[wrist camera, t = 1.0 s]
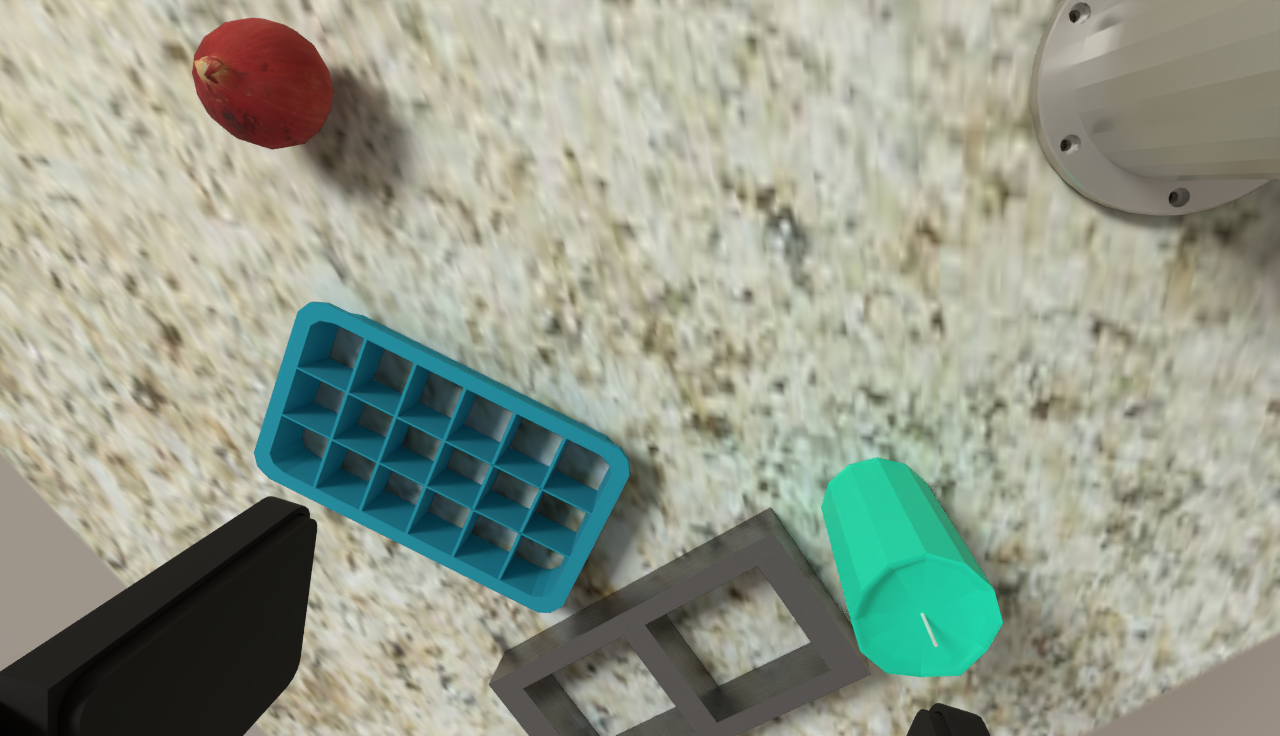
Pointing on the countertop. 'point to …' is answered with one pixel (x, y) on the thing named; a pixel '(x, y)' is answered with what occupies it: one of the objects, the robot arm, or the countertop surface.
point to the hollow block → (638, 612)
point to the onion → (263, 82)
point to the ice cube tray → (399, 518)
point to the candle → (907, 573)
